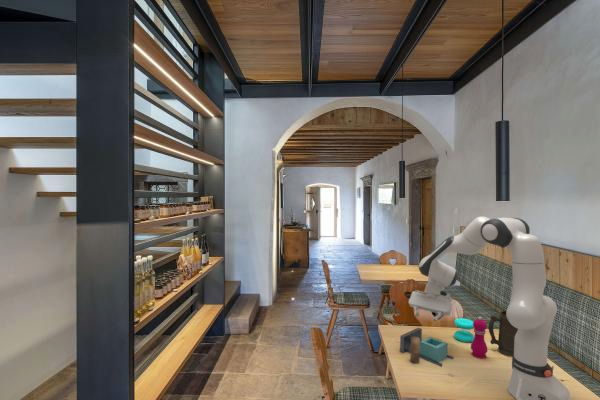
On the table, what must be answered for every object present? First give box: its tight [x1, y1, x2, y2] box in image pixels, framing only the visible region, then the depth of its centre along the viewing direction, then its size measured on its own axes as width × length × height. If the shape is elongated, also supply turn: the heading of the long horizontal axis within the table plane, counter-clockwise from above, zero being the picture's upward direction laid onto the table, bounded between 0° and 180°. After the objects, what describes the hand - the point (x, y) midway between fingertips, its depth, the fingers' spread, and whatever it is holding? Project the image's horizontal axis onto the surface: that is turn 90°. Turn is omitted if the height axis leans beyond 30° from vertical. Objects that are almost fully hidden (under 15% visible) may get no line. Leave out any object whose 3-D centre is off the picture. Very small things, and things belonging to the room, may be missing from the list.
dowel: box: [409, 337, 421, 365], centre depth 163 cm, size 4×4×12 cm
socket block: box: [420, 336, 448, 363], centre depth 168 cm, size 9×9×7 cm
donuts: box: [453, 317, 475, 343], centre depth 191 cm, size 10×10×10 cm
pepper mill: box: [470, 316, 488, 359], centre depth 170 cm, size 7×7×20 cm
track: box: [399, 327, 454, 367], centre depth 170 cm, size 20×16×9 cm
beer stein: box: [487, 310, 518, 358], centre depth 176 cm, size 15×11×20 cm
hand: (425, 318), depth 172 cm, fingers open, 8 cm apart
